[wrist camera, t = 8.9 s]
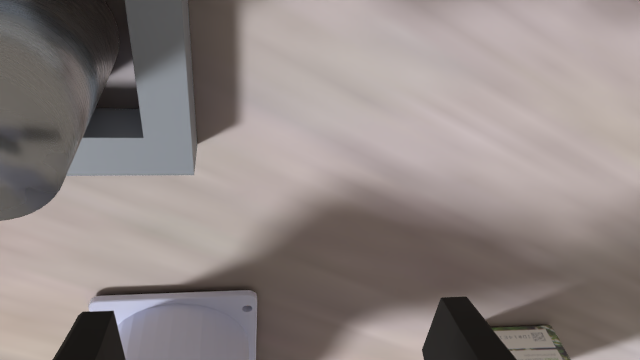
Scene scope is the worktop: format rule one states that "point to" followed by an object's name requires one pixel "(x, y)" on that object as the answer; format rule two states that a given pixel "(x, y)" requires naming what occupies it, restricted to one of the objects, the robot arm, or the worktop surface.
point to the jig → (148, 102)
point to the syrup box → (532, 342)
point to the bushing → (48, 92)
